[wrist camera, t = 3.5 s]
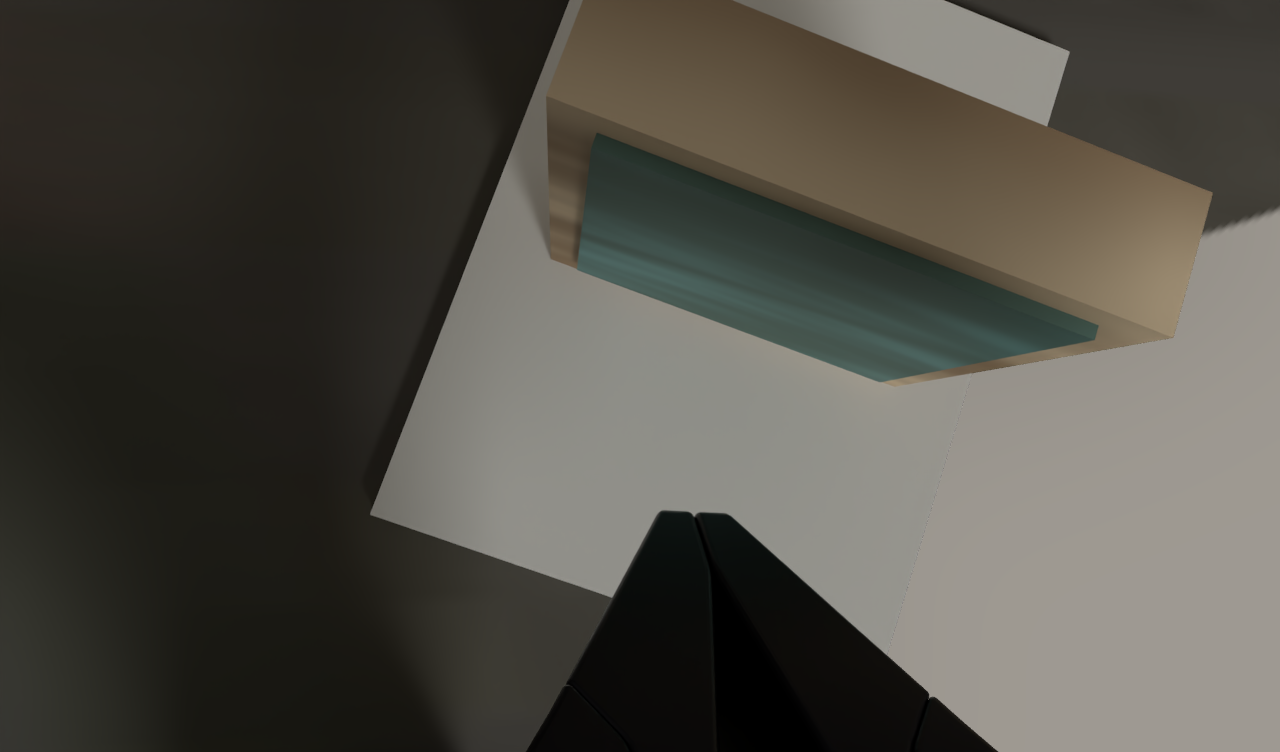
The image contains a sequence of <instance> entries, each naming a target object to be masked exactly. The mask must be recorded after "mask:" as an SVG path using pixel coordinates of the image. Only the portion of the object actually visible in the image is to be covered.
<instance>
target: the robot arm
mask: <svg viewBox="0 0 1280 752" xmlns="http://www.w3.org/2000/svg"><path fill="white" fill-rule="evenodd" d="M928 699H929V700H928ZM526 752H998V751H997V750H995V749H994V748H993V747H992V746H991V745H989V744H988V743H987V742H986V741H985V740H984V739H982V738H981V737H980V736H979V735H978V734H977V733H975V732H974V731H973V730H972V729H971V728H970V727H968V726H967V725H966V724H965V723H964V722H963V721H962V720H960V719H959V718H958V717H957V716H956V715H955V714H954V713H952V712H951V711H950V710H949V709H948V708H947V707H946V706H945V705H943V704H942V703H941V702H940V701H939V700H938V699H937V698H935V697H930V698H929V693H928V692H927V691H926V690H925V689H924V688H923V687H922V686H921V685H919V684H918V683H917V682H916V681H915V680H914V679H913V678H911V676H909V675H908V674H907V673H906V672H905V671H904V670H903V669H902V668H900V667H899V666H898V665H897V664H896V663H895V662H894V661H893V660H891V659H890V658H889V657H888V656H887V655H886V654H885V653H884V652H883V651H882V650H880V649H879V648H878V647H877V646H876V645H875V644H874V643H873V642H871V641H870V640H869V639H868V638H867V637H866V636H865V635H864V634H863V633H861V632H860V631H859V630H858V629H857V628H856V627H855V626H854V625H852V624H851V623H850V622H849V621H848V620H847V619H846V618H845V617H844V616H842V615H841V614H840V613H839V612H838V611H837V610H836V609H835V608H834V607H832V606H831V605H830V604H829V603H828V602H827V601H826V600H825V599H823V598H822V597H821V596H820V595H819V594H818V593H817V592H816V591H815V590H813V589H812V588H811V587H810V586H809V585H808V584H807V583H806V582H804V581H803V580H802V579H801V578H800V577H799V576H798V575H797V574H796V573H794V572H793V571H792V570H791V569H790V568H789V567H788V566H787V565H786V564H784V563H783V562H782V561H781V560H780V559H779V558H778V557H777V556H775V555H774V554H773V553H772V552H771V551H770V550H769V549H768V548H767V547H765V546H764V545H763V544H762V543H761V542H760V541H759V540H758V539H756V538H755V537H754V536H753V535H752V534H751V533H750V532H749V531H748V530H746V529H745V528H744V527H743V526H742V525H741V524H740V523H739V522H737V521H736V520H735V519H734V518H733V517H732V516H730V515H728V514H726V513H712V512H698V513H697V514H696V515H695V516H693V514H692V513H691V512H688V511H671V510H661V511H659V513H658V514H657V515H656V517H655V519H654V521H653V523H652V524H651V526H650V528H649V530H648V532H647V534H646V536H645V537H644V539H643V541H642V543H641V545H640V547H639V549H638V550H637V552H636V554H635V556H634V558H633V560H632V562H631V563H630V565H629V567H628V569H627V571H626V573H625V575H624V576H623V578H622V580H621V582H620V584H619V586H618V588H617V589H616V591H615V593H614V595H613V597H612V599H611V601H610V603H609V604H608V606H607V608H606V610H605V612H604V614H603V616H602V617H601V619H600V621H599V623H598V625H597V627H596V629H595V630H594V632H593V634H592V636H591V638H590V640H589V642H588V643H587V645H586V647H585V649H584V651H583V653H582V655H581V656H580V658H579V660H578V662H577V664H576V666H575V668H574V669H573V671H572V673H571V675H570V677H569V679H568V681H567V683H566V685H565V686H564V687H563V688H562V690H561V692H560V694H559V696H558V697H557V699H556V701H555V703H554V705H553V707H552V709H551V710H550V712H549V714H548V716H547V717H546V719H545V721H544V722H543V724H542V726H541V727H540V729H539V731H538V732H537V734H536V736H535V737H534V739H533V741H532V742H531V744H530V746H529V747H528V749H527V751H526Z"/></svg>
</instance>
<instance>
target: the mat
mask: <svg viewBox="0 0 1280 752" xmlns="http://www.w3.org/2000/svg"><path fill="white" fill-rule="evenodd" d="M582 1H583V0H569V3H568V6H567V8H566V11H565V13H564V16H563V18H562V21H561V24H560V26H559V29H558V31H557V34H556V36H555V39H554V42H553V44H552V47H551V49H550V52H549V54H548V57H547V60H546V62H545V65H544V67H543V70H542V73H541V75H540V78H539V80H538V83H537V85H536V88H535V91H534V93H533V96H532V98H531V101H530V103H529V106H528V109H527V111H526V114H525V116H524V119H523V121H522V124H521V127H520V129H519V132H518V134H517V137H516V139H515V142H514V145H513V147H512V150H511V152H510V155H509V157H508V160H507V163H506V165H505V168H504V170H503V173H502V176H501V178H500V181H499V183H498V186H497V188H496V191H495V194H494V196H493V199H492V201H491V204H490V206H489V209H488V212H487V214H486V217H485V219H484V222H483V224H482V227H481V230H480V232H479V235H478V237H477V240H476V242H475V245H474V248H473V250H472V253H471V255H470V258H469V261H468V263H467V266H466V268H465V271H464V273H463V276H462V279H461V281H460V284H459V286H458V289H457V291H456V294H455V297H454V299H453V302H452V304H451V307H450V309H449V312H448V315H447V317H446V320H445V322H444V325H443V327H442V330H441V333H440V335H439V338H438V340H437V343H436V345H435V348H434V351H433V353H432V356H431V358H430V361H429V364H428V366H427V369H426V371H425V374H424V376H423V379H422V382H421V384H420V387H419V389H418V392H417V394H416V397H415V400H414V402H413V405H412V407H411V410H410V412H409V415H408V418H407V420H406V423H405V425H404V428H403V430H402V433H401V436H400V438H399V441H398V443H397V446H396V449H395V451H394V454H393V456H392V459H391V461H390V464H389V467H388V469H387V472H386V474H385V477H384V479H383V482H382V485H381V487H380V490H379V492H378V495H377V497H376V500H375V503H374V505H373V508H372V510H371V513H370V515H373V516H375V517H378V518H381V519H384V520H387V521H390V522H393V523H396V524H399V525H402V526H405V527H408V528H410V529H413V530H416V531H419V532H422V533H425V534H428V535H431V536H434V537H437V538H440V539H443V540H446V541H448V542H451V543H454V544H457V545H460V546H463V547H466V548H469V549H472V550H475V551H478V552H481V553H484V554H486V555H489V556H492V557H495V558H498V559H501V560H504V561H507V562H510V563H513V564H516V565H519V566H521V567H524V568H527V569H530V570H533V571H536V572H539V573H542V574H545V575H548V576H551V577H554V578H557V579H559V580H562V581H565V582H568V583H571V584H574V585H577V586H580V587H583V588H586V589H589V590H592V591H595V592H597V593H600V594H603V595H606V596H609V597H613V595H614V593H615V591H616V589H617V588H618V586H619V584H620V582H621V580H622V578H623V576H624V575H625V573H626V571H627V569H628V567H629V565H630V563H631V562H632V560H633V558H634V556H635V554H636V552H637V550H638V549H639V547H640V545H641V543H642V541H643V539H644V537H645V536H646V534H647V532H648V530H649V528H650V526H651V524H652V523H653V521H654V519H655V517H656V515H657V514H658V513H659V511H661V510H671V511H688V512H691V513H692V514H693V516H695V515H696V514H697V513H698V512H712V513H726V514H728V515H730V516H732V517H733V518H734V519H735V520H736V521H737V522H739V523H740V524H741V525H742V526H743V527H744V528H745V529H746V530H748V531H749V532H750V533H751V534H752V535H753V536H754V537H755V538H756V539H758V540H759V541H760V542H761V543H762V544H763V545H764V546H765V547H767V548H768V549H769V550H770V551H771V552H772V553H773V554H774V555H775V556H777V557H778V558H779V559H780V560H781V561H782V562H783V563H784V564H786V565H787V566H788V567H789V568H790V569H791V570H792V571H793V572H794V573H796V574H797V575H798V576H799V577H800V578H801V579H802V580H803V581H804V582H806V583H807V584H808V585H809V586H810V587H811V588H812V589H813V590H815V591H816V592H817V593H818V594H819V595H820V596H821V597H822V598H823V599H825V600H826V601H827V602H828V603H829V604H830V605H831V606H832V607H834V608H835V609H836V610H837V611H838V612H839V613H840V614H841V615H842V616H844V617H845V618H846V619H847V620H848V621H849V622H850V623H851V624H852V625H854V626H855V627H856V628H857V629H858V630H859V631H860V632H861V633H863V634H864V635H865V636H866V637H867V638H868V639H869V640H870V641H871V642H873V643H874V644H875V645H876V646H877V647H878V648H879V649H880V650H882V651H883V652H884V653H885V654H886V655H887V654H888V651H889V647H890V644H891V640H892V638H893V634H894V631H895V628H896V624H897V620H898V618H899V614H900V611H901V608H902V604H903V601H904V598H905V594H906V591H907V588H908V585H909V581H910V578H911V575H912V571H913V568H914V565H915V561H916V558H917V555H918V551H919V548H920V545H921V542H922V538H923V534H924V532H925V528H926V525H927V522H928V518H929V515H930V512H931V509H932V505H933V502H934V498H935V495H936V492H937V489H938V485H939V482H940V478H941V475H942V472H943V469H944V465H945V462H946V459H947V455H948V452H949V449H950V446H951V442H952V439H953V435H954V432H955V429H956V426H957V422H958V419H959V416H960V413H961V409H962V406H963V403H964V399H965V396H966V393H967V389H968V386H969V383H970V379H971V376H972V373H970V374H964V375H959V376H953V377H947V378H942V379H936V380H930V381H925V382H919V383H913V384H908V385H902V386H896V387H894V386H891V385H889V384H886V383H883V382H877V381H874V380H872V379H869V378H866V377H864V376H861V375H858V374H856V373H853V372H850V371H847V370H845V369H842V368H839V367H837V366H834V365H831V364H829V363H826V362H823V361H821V360H818V359H815V358H812V357H810V356H807V355H804V354H802V353H799V352H796V351H794V350H791V349H788V348H785V347H783V346H780V345H777V344H775V343H772V342H769V341H767V340H764V339H761V338H759V337H756V336H753V335H750V334H748V333H745V332H742V331H740V330H737V329H734V328H732V327H729V326H726V325H723V324H721V323H718V322H715V321H713V320H710V319H707V318H705V317H702V316H699V315H697V314H694V313H691V312H688V311H686V310H683V309H680V308H678V307H675V306H672V305H670V304H667V303H664V302H662V301H659V300H656V299H653V298H651V297H648V296H645V295H643V294H640V293H637V292H635V291H632V290H629V289H626V288H624V287H621V286H618V285H616V284H613V283H610V282H608V281H605V280H602V279H600V278H597V277H594V276H591V275H589V274H586V273H583V272H581V271H578V270H577V269H576V268H573V267H571V266H568V265H565V264H562V263H560V262H557V261H554V260H552V259H551V250H550V215H549V181H548V147H547V112H546V94H547V92H548V89H549V87H550V84H551V82H552V79H553V76H554V74H555V71H556V69H557V66H558V63H559V61H560V58H561V56H562V53H563V50H564V48H565V45H566V43H567V40H568V37H569V35H570V32H571V30H572V27H573V25H574V22H575V19H576V17H577V14H578V12H579V9H580V6H581V4H582ZM733 1H736V2H738V3H741V4H743V5H745V6H748V7H750V8H753V9H755V10H758V11H760V12H763V13H765V14H768V15H770V16H773V17H775V18H778V19H780V20H783V21H785V22H788V23H790V24H793V25H795V26H798V27H800V28H803V29H805V30H808V31H810V32H813V33H815V34H818V35H820V36H823V37H825V38H828V39H830V40H833V41H835V42H838V43H840V44H843V45H845V46H848V47H850V48H853V49H855V50H858V51H860V52H863V53H865V54H868V55H870V56H873V57H875V58H878V59H880V60H883V61H885V62H888V63H890V64H893V65H895V66H898V67H900V68H903V69H905V70H907V71H910V72H912V73H915V74H917V75H920V76H922V77H925V78H927V79H930V80H932V81H935V82H937V83H940V84H942V85H945V86H947V87H950V88H952V89H955V90H957V91H960V92H962V93H965V94H967V95H970V96H972V97H975V98H977V99H980V100H982V101H985V102H987V103H990V104H992V105H995V106H997V107H1000V108H1002V109H1005V110H1007V111H1010V112H1012V113H1015V114H1017V115H1020V116H1022V117H1025V118H1027V119H1030V120H1032V121H1035V122H1037V123H1040V124H1042V125H1045V126H1047V125H1048V121H1049V118H1050V115H1051V112H1052V108H1053V105H1054V102H1055V98H1056V95H1057V92H1058V88H1059V85H1060V82H1061V78H1062V75H1063V72H1064V69H1065V65H1066V62H1067V59H1068V55H1069V51H1067V50H1064V49H1062V48H1059V47H1057V46H1055V45H1052V44H1050V43H1047V42H1045V41H1042V40H1040V39H1037V38H1035V37H1033V36H1030V35H1028V34H1025V33H1023V32H1020V31H1018V30H1016V29H1013V28H1011V27H1008V26H1006V25H1003V24H1001V23H998V22H996V21H994V20H991V19H989V18H986V17H984V16H981V15H979V14H976V13H974V12H972V11H969V10H967V9H964V8H962V7H959V6H957V5H954V4H952V3H950V2H947V1H945V0H733Z"/></svg>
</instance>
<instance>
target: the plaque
mask: <svg viewBox="0 0 1280 752" xmlns="http://www.w3.org/2000/svg"><path fill="white" fill-rule="evenodd" d="M546 112H547V147H548V181H549V215H550V250H551V259H552V260H554V261H557V262H560V263H562V264H565V265H568V266H571V267H573V268H576V269H577V270H578V271H581V272H583V273H586V274H589V275H591V276H594V277H597V278H600V279H602V280H605V281H608V282H610V283H613V284H616V285H618V286H621V287H624V288H626V289H629V290H632V291H635V292H637V293H640V294H643V295H645V296H648V297H651V298H653V299H656V300H659V301H662V302H664V303H667V304H670V305H672V306H675V307H678V308H680V309H683V310H686V311H688V312H691V313H694V314H697V315H699V316H702V317H705V318H707V319H710V320H713V321H715V322H718V323H721V324H723V325H726V326H729V327H732V328H734V329H737V330H740V331H742V332H745V333H748V334H750V335H753V336H756V337H759V338H761V339H764V340H767V341H769V342H772V343H775V344H777V345H780V346H783V347H785V348H788V349H791V350H794V351H796V352H799V353H802V354H804V355H807V356H810V357H812V358H815V359H818V360H821V361H823V362H826V363H829V364H831V365H834V366H837V367H839V368H842V369H845V370H847V371H850V372H853V373H856V374H858V375H861V376H864V377H866V378H869V379H872V380H874V381H877V382H883V383H886V384H889V385H891V386H894V387H896V386H902V385H908V384H913V383H919V382H925V381H930V380H936V379H942V378H947V377H953V376H959V375H964V374H970V373H976V372H981V371H986V370H992V369H999V368H1004V367H1010V366H1016V365H1021V364H1027V363H1032V362H1038V361H1044V360H1050V359H1055V358H1061V357H1067V356H1073V355H1078V354H1083V353H1090V352H1095V351H1101V350H1107V349H1112V348H1117V347H1124V346H1129V345H1135V344H1141V343H1146V342H1152V341H1157V340H1163V339H1169V338H1173V337H1174V334H1175V330H1176V326H1177V323H1178V319H1179V315H1180V312H1181V308H1182V304H1183V301H1184V297H1185V293H1186V289H1187V286H1188V282H1189V279H1190V275H1191V271H1192V267H1193V264H1194V260H1195V256H1196V253H1197V249H1198V246H1199V242H1200V238H1201V235H1202V231H1203V227H1204V224H1205V220H1206V216H1207V212H1208V209H1209V205H1210V201H1211V198H1212V194H1213V193H1212V192H1209V191H1207V190H1204V189H1202V188H1199V187H1197V186H1194V185H1192V184H1189V183H1187V182H1184V181H1182V180H1179V179H1177V178H1174V177H1172V176H1169V175H1167V174H1164V173H1162V172H1159V171H1157V170H1154V169H1152V168H1149V167H1147V166H1144V165H1142V164H1139V163H1137V162H1134V161H1132V160H1129V159H1127V158H1124V157H1122V156H1119V155H1117V154H1114V153H1112V152H1109V151H1107V150H1104V149H1102V148H1099V147H1097V146H1094V145H1092V144H1089V143H1087V142H1084V141H1082V140H1079V139H1077V138H1074V137H1072V136H1070V135H1067V134H1065V133H1062V132H1060V131H1057V130H1055V129H1052V128H1050V127H1047V126H1045V125H1042V124H1040V123H1037V122H1035V121H1032V120H1030V119H1027V118H1025V117H1022V116H1020V115H1017V114H1015V113H1012V112H1010V111H1007V110H1005V109H1002V108H1000V107H997V106H995V105H992V104H990V103H987V102H985V101H982V100H980V99H977V98H975V97H972V96H970V95H967V94H965V93H962V92H960V91H957V90H955V89H952V88H950V87H947V86H945V85H942V84H940V83H937V82H935V81H932V80H930V79H927V78H925V77H922V76H920V75H917V74H915V73H912V72H910V71H907V70H905V69H903V68H900V67H898V66H895V65H893V64H890V63H888V62H885V61H883V60H880V59H878V58H875V57H873V56H870V55H868V54H865V53H863V52H860V51H858V50H855V49H853V48H850V47H848V46H845V45H843V44H840V43H838V42H835V41H833V40H830V39H828V38H825V37H823V36H820V35H818V34H815V33H813V32H810V31H808V30H805V29H803V28H800V27H798V26H795V25H793V24H790V23H788V22H785V21H783V20H780V19H778V18H775V17H773V16H770V15H768V14H765V13H763V12H760V11H758V10H755V9H753V8H750V7H748V6H745V5H743V4H741V3H738V2H736V1H733V0H583V1H582V4H581V6H580V9H579V12H578V14H577V17H576V19H575V22H574V25H573V27H572V30H571V32H570V35H569V37H568V40H567V43H566V45H565V48H564V50H563V53H562V56H561V58H560V61H559V63H558V66H557V69H556V71H555V74H554V76H553V79H552V82H551V84H550V87H549V89H548V92H547V94H546Z"/></svg>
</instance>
